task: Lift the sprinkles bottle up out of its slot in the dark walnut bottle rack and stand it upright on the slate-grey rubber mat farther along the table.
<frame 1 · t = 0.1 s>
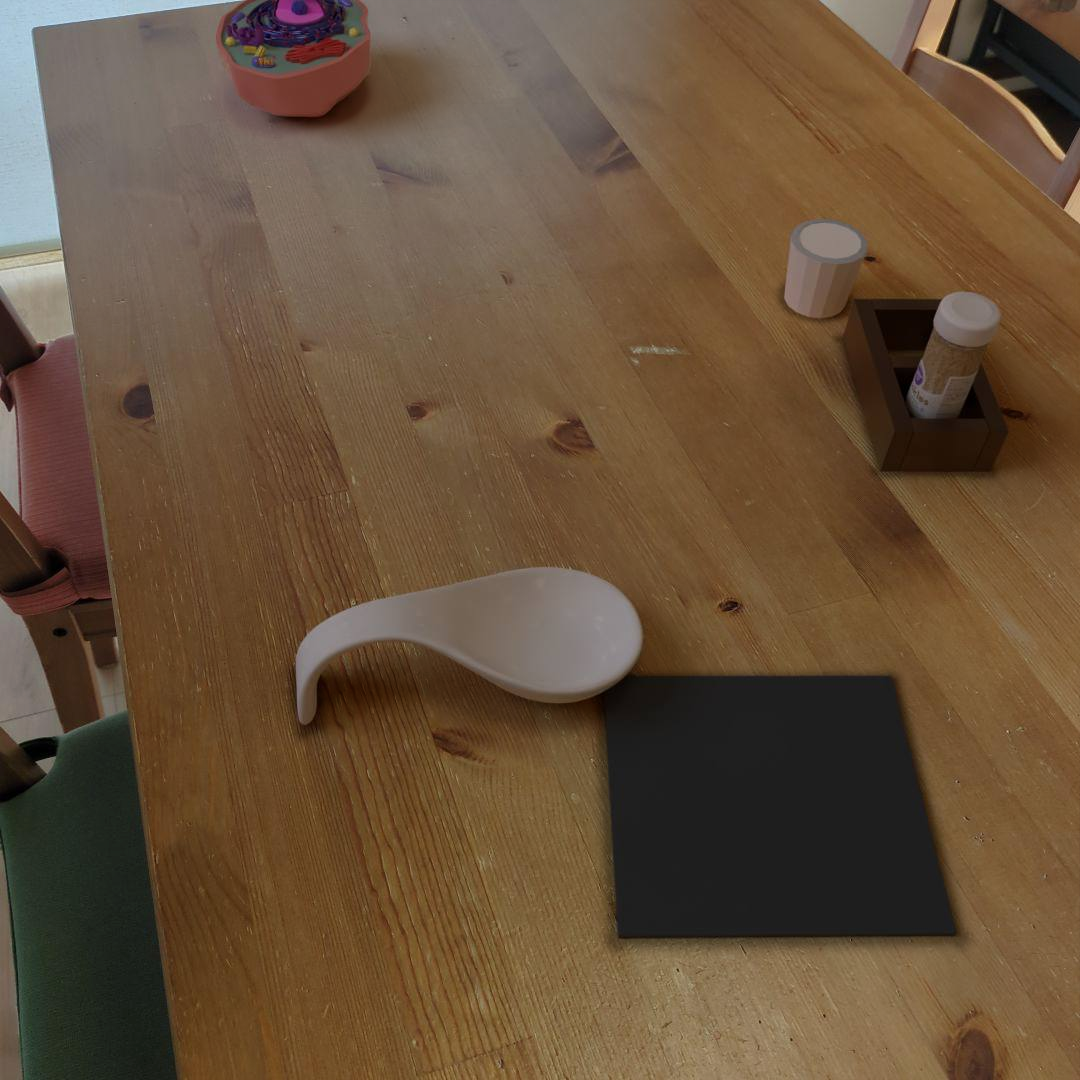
hand: (1079, 43, 67), 34 cm above the table, tool pointing down, fingers open, 8 cm apart
bottle rack: (910, 405, 96), on the table
cell model: (305, 102, 127), on the table
spoon rest: (472, 679, 77), on the table, touching mat
mat: (764, 800, 72), on the table
shot glass: (813, 304, 105), on the table
sprinkles bottle: (920, 438, 93), resting in bottle rack
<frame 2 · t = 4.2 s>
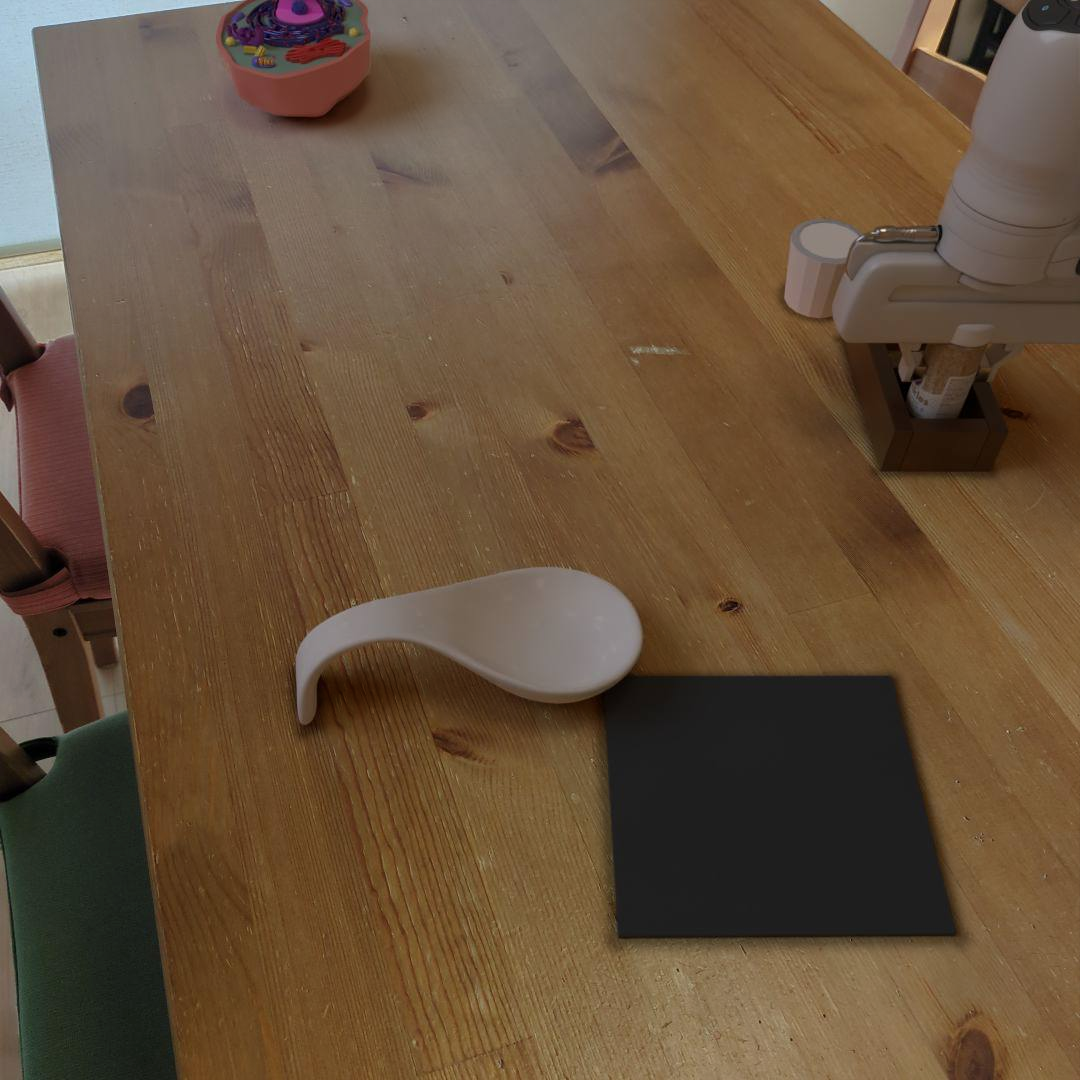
hand: (944, 376, 88), 7 cm above the table, tool pointing down, fingers closed on sprinkles bottle, 4 cm apart
sprinkles bottle: (920, 438, 94), resting in bottle rack, touching gripper
everything else where it was.
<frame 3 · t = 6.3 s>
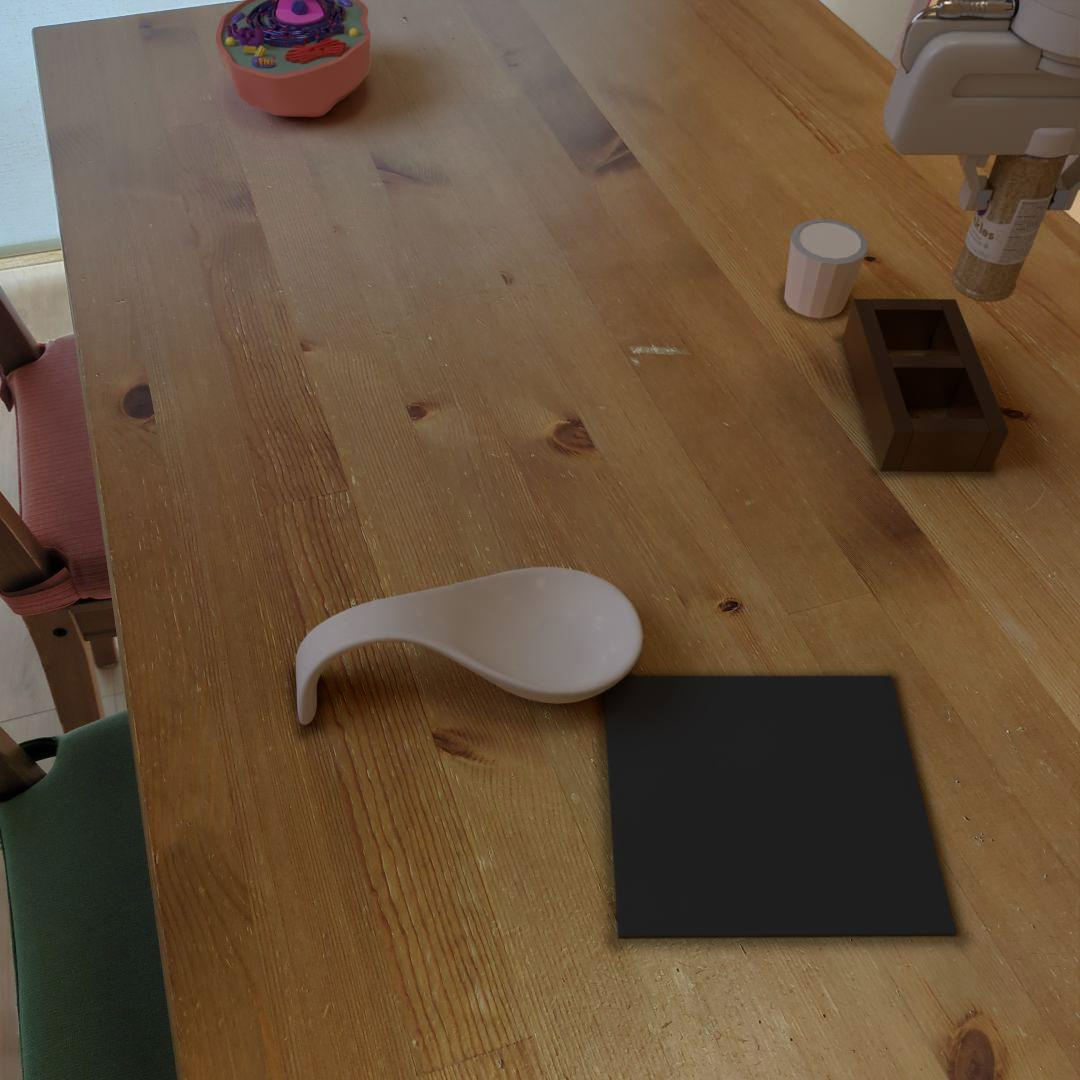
hand: (1013, 206, 75), 23 cm above the table, tool pointing down, fingers closed on sprinkles bottle, 4 cm apart
sprinkles bottle: (981, 288, 81), point 16 cm above the table, touching gripper
everything else where it was.
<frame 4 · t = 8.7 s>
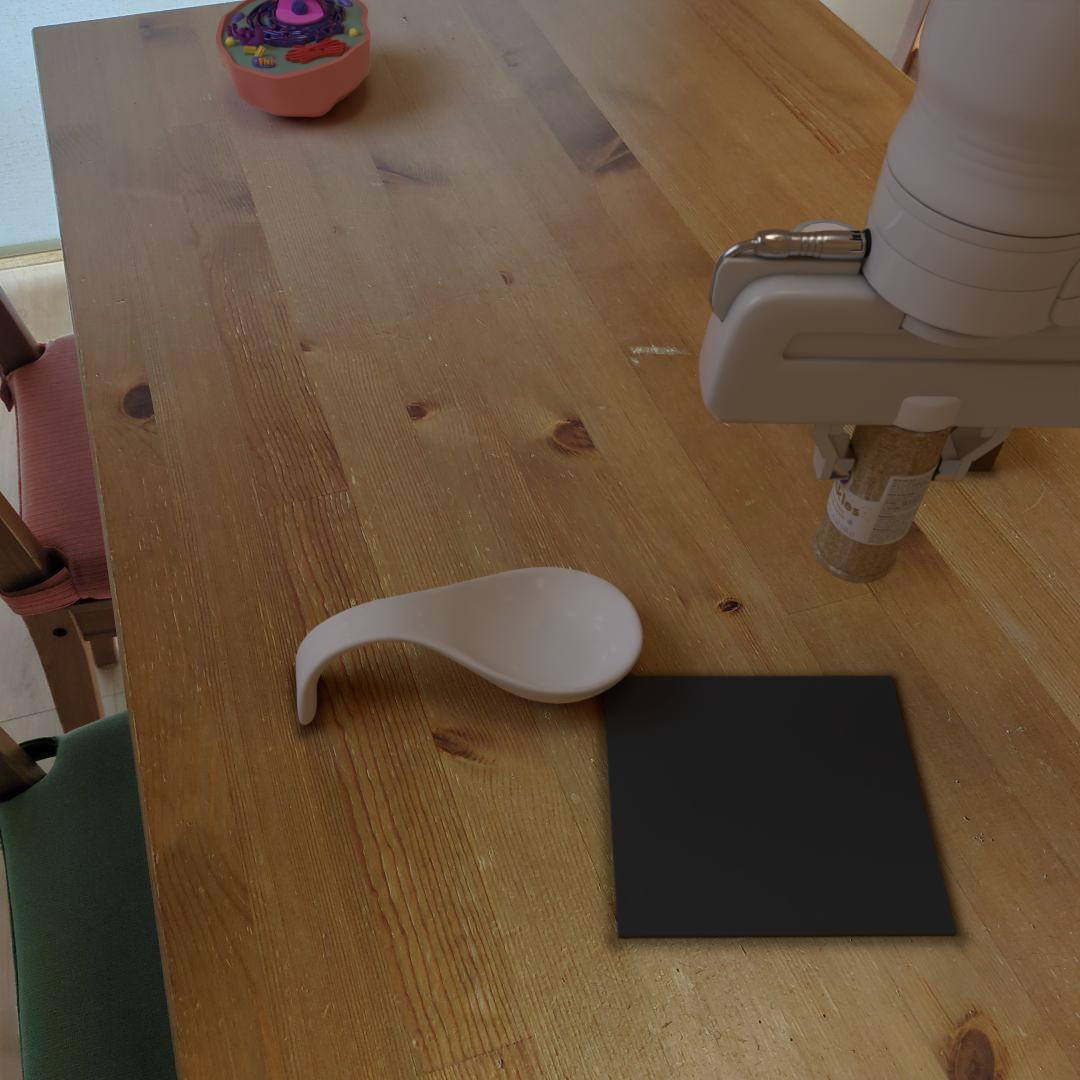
hand: (886, 472, 55), 26 cm above the table, tool pointing down, fingers closed on sprinkles bottle, 4 cm apart
sprinkles bottle: (852, 557, 61), point 19 cm above the table, touching gripper
everything else where it was.
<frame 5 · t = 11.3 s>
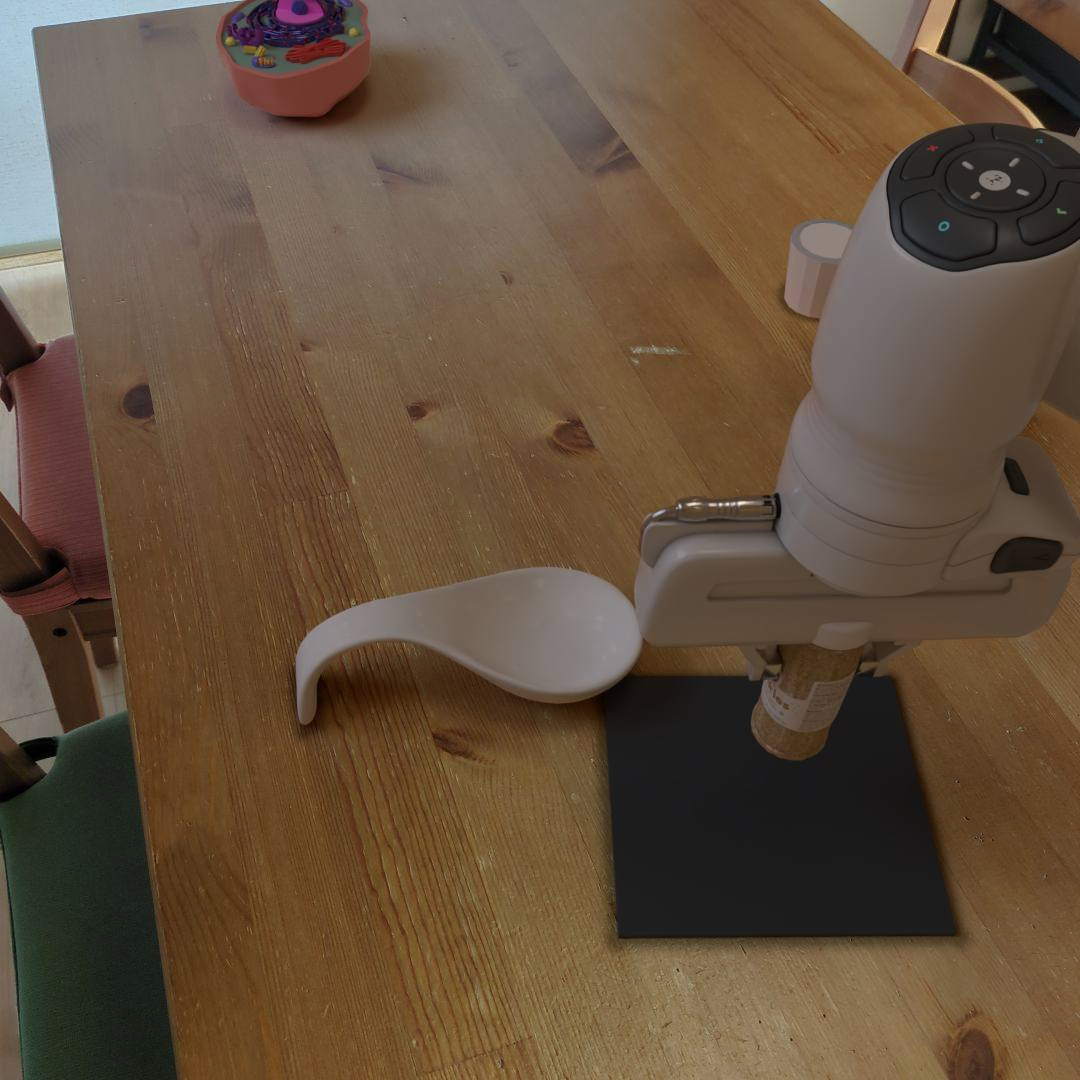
hand: (812, 668, 60), 15 cm above the table, tool pointing down, fingers closed on sprinkles bottle, 4 cm apart
sprinkles bottle: (788, 731, 65), point 8 cm above the table, touching gripper
everything else where it was.
when the fingers open (7 cm above the table, at t = 13.5 s): sprinkles bottle stays where it is, resting on mat.
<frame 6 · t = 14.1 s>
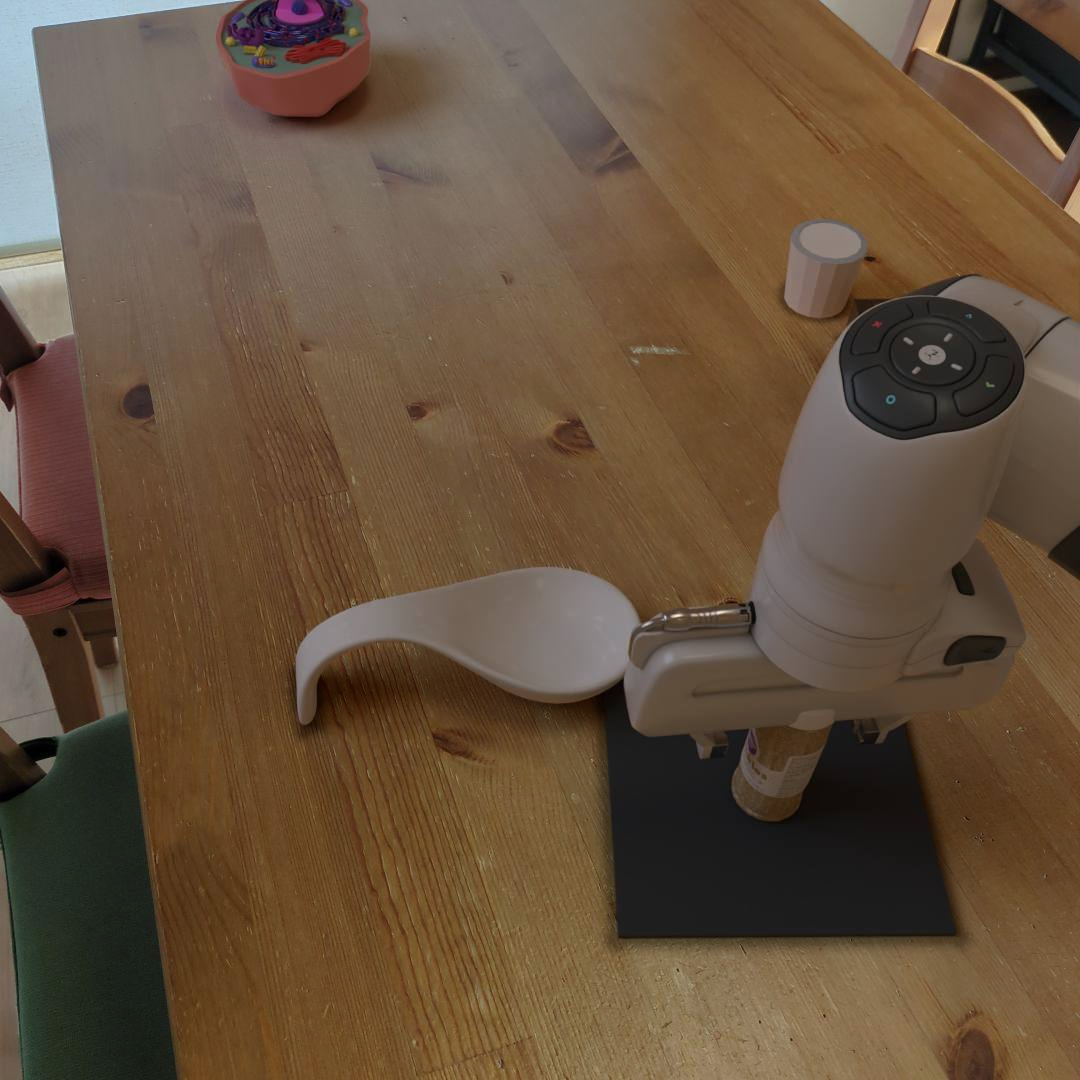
hand: (787, 740, 66), 8 cm above the table, tool pointing down, fingers open, 8 cm apart
sprinkles bottle: (765, 793, 71), point 1 cm above the table, touching mat
everything else where it was.
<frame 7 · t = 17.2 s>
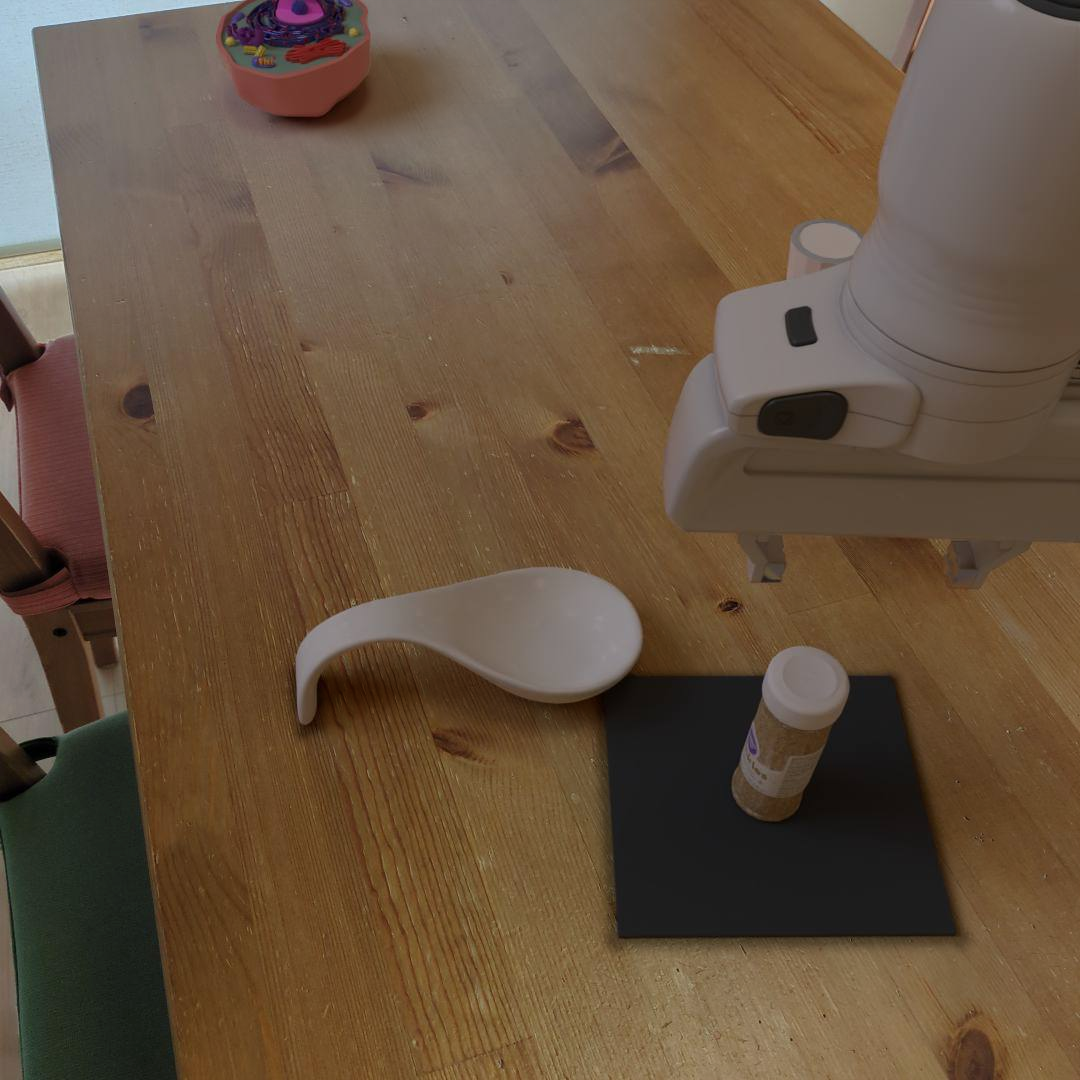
hand: (860, 575, 53), 24 cm above the table, tool pointing down, fingers open, 8 cm apart
nothing on the table moved.
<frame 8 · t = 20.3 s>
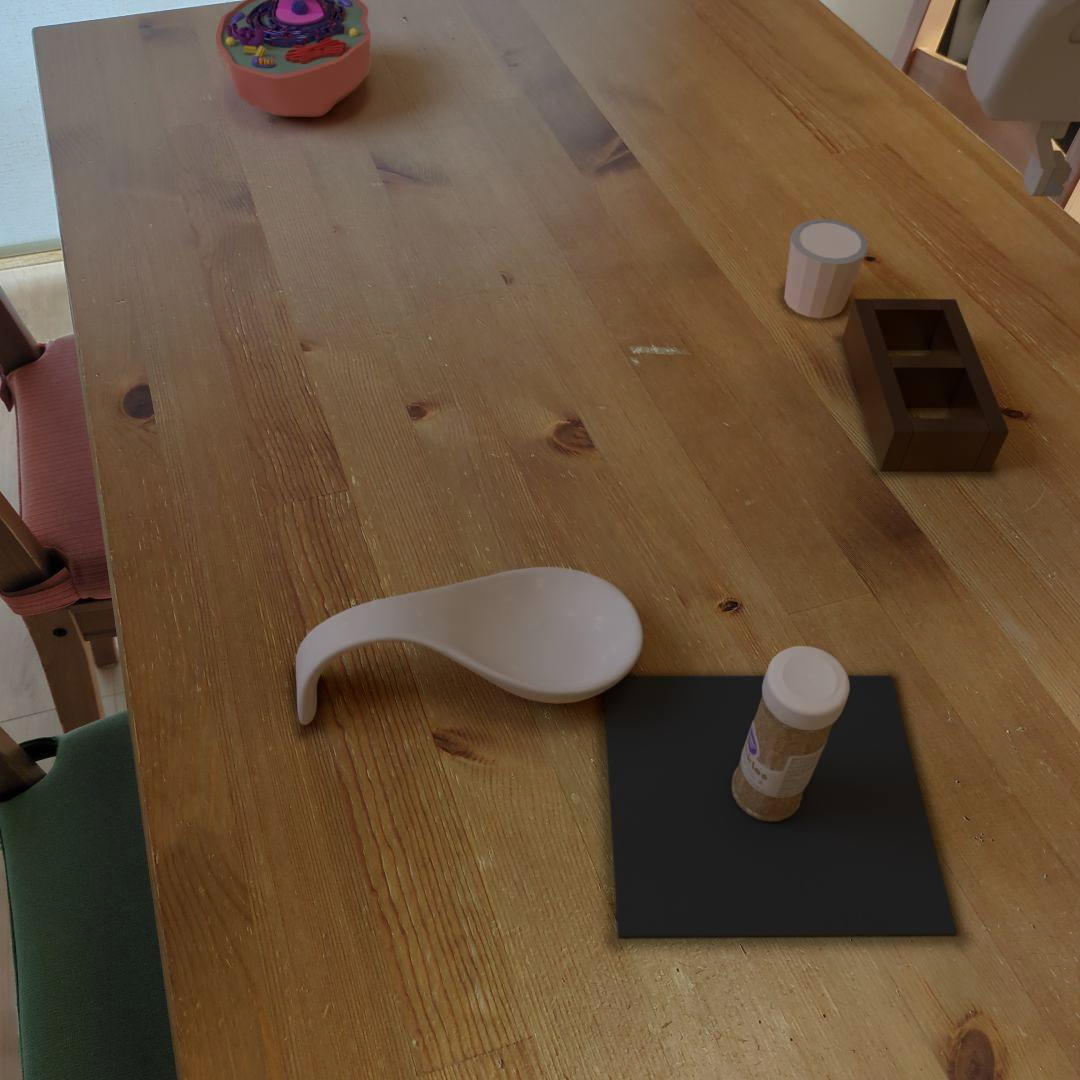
nothing on the table moved.
at the end: sprinkles bottle inside the target area on the mat (0.2 cm from its centre), point 0.6 cm above the mat's base; sprinkles bottle tilted 0°; sprinkles bottle touching mat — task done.
